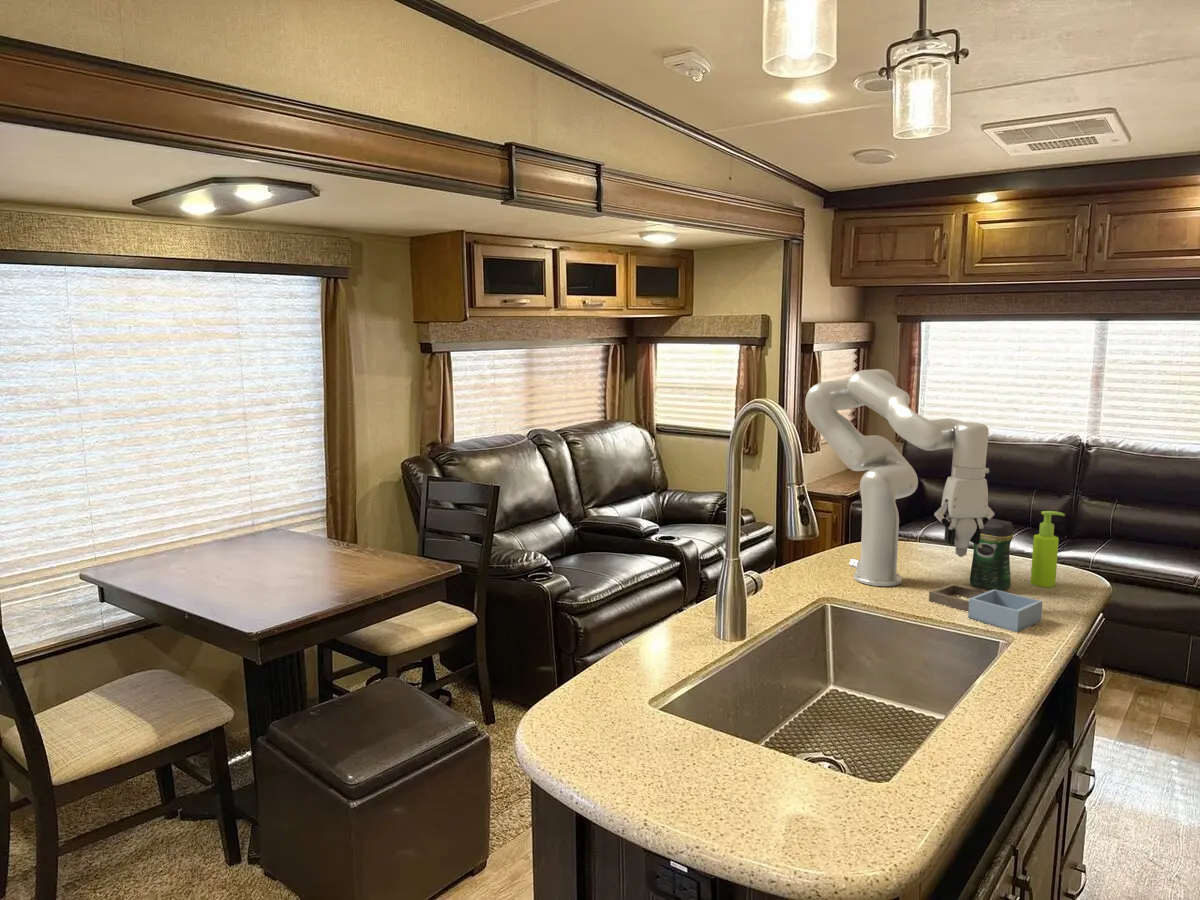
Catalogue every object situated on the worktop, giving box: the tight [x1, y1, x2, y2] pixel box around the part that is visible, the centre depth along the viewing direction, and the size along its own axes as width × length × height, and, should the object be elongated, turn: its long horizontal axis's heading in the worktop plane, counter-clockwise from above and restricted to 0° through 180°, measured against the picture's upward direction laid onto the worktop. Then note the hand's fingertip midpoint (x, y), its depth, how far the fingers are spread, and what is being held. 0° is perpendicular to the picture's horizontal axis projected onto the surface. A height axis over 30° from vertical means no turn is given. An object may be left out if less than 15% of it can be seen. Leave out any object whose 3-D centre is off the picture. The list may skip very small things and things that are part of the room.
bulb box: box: [967, 589, 1044, 633], centre depth 193 cm, size 12×12×5 cm
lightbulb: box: [953, 518, 977, 558], centre depth 204 cm, size 6×6×11 cm
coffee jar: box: [969, 518, 1014, 592], centre depth 217 cm, size 10×8×19 cm
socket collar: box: [928, 583, 986, 612], centre depth 206 cm, size 11×11×2 cm
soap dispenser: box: [1029, 510, 1066, 588], centre depth 219 cm, size 6×7×20 cm
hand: (961, 542), depth 204 cm, fingers closed on lightbulb, 5 cm apart
